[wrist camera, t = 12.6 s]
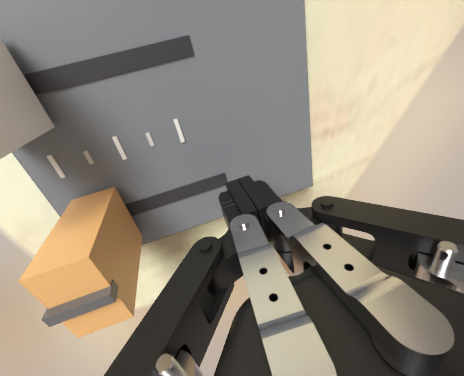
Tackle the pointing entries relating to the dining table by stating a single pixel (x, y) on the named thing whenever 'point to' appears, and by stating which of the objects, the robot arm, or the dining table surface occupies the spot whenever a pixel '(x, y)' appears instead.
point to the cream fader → (18, 107)
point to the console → (163, 101)
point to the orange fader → (88, 265)
